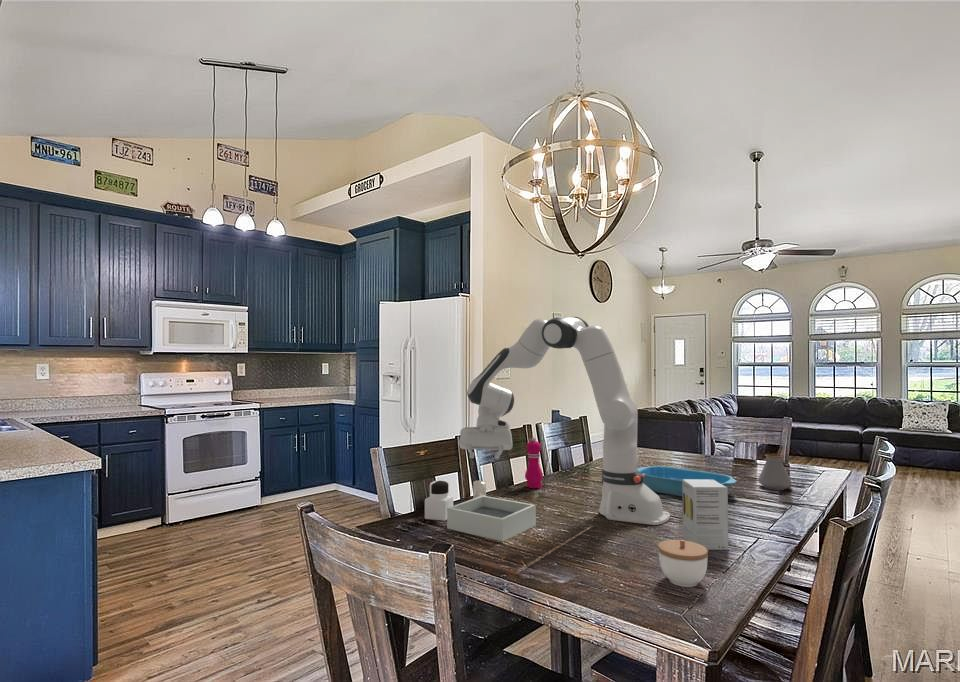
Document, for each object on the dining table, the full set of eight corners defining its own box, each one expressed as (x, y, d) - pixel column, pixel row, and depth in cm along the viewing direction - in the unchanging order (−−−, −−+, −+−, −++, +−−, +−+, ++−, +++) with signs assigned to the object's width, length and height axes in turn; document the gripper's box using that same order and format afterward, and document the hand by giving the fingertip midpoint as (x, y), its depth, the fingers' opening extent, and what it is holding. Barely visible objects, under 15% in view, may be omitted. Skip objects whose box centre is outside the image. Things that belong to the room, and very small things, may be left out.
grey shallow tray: (529, 525, 161) (529, 515, 161) (501, 539, 148) (501, 528, 149) (483, 515, 171) (483, 506, 171) (454, 527, 158) (454, 517, 159)
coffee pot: (788, 493, 201) (787, 453, 202) (755, 488, 209) (754, 450, 210) (799, 483, 218) (798, 446, 218) (768, 479, 225) (767, 443, 226)
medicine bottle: (453, 517, 173) (453, 480, 173) (445, 523, 166) (445, 485, 166) (433, 515, 175) (433, 478, 175) (424, 521, 168) (424, 483, 169)
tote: (536, 528, 161) (535, 505, 161) (503, 545, 146) (502, 519, 147) (482, 517, 173) (482, 495, 173) (447, 531, 158) (447, 508, 158)
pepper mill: (542, 489, 209) (541, 438, 210) (524, 488, 210) (523, 438, 211) (543, 485, 216) (543, 436, 217) (526, 484, 217) (525, 435, 218)
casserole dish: (743, 493, 202) (742, 474, 202) (727, 506, 185) (727, 485, 185) (648, 480, 225) (648, 463, 225) (626, 490, 208) (626, 472, 208)
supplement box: (682, 538, 151) (681, 478, 152) (714, 538, 151) (713, 478, 152) (694, 550, 142) (693, 486, 142) (729, 550, 141) (728, 486, 142)
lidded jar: (657, 570, 128) (657, 530, 129) (705, 575, 125) (704, 534, 126) (659, 588, 118) (658, 545, 119) (711, 594, 115) (710, 550, 115)
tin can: (488, 507, 184) (488, 481, 184) (481, 510, 180) (481, 483, 180) (478, 505, 186) (478, 479, 187) (470, 508, 183) (470, 482, 183)
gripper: (460, 422, 205) (455, 452, 195) (512, 422, 202) (510, 453, 192) (462, 432, 209) (457, 461, 199) (513, 432, 206) (512, 463, 196)
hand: (484, 457), depth 196 cm, fingers open, 8 cm apart
